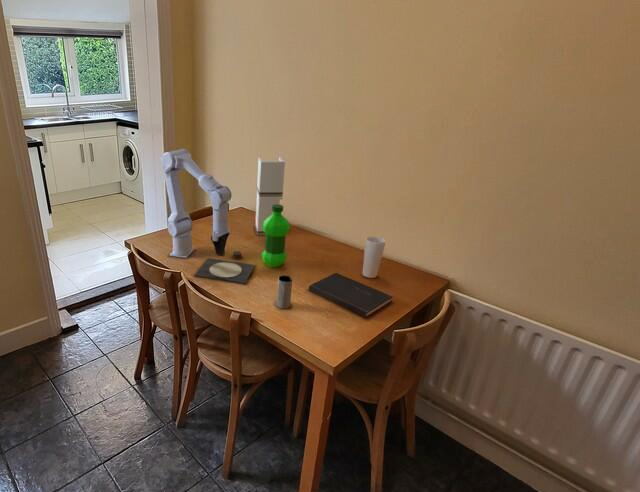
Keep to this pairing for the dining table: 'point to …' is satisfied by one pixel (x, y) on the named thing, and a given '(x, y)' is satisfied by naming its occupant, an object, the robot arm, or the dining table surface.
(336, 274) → the hardcover book
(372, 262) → the drinking glass
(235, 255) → the eye right
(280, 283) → the grey metal cylinder
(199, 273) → the board
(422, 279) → the dining table surface
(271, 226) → the plastic bottle
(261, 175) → the white rectangular tower
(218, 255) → the eye left
